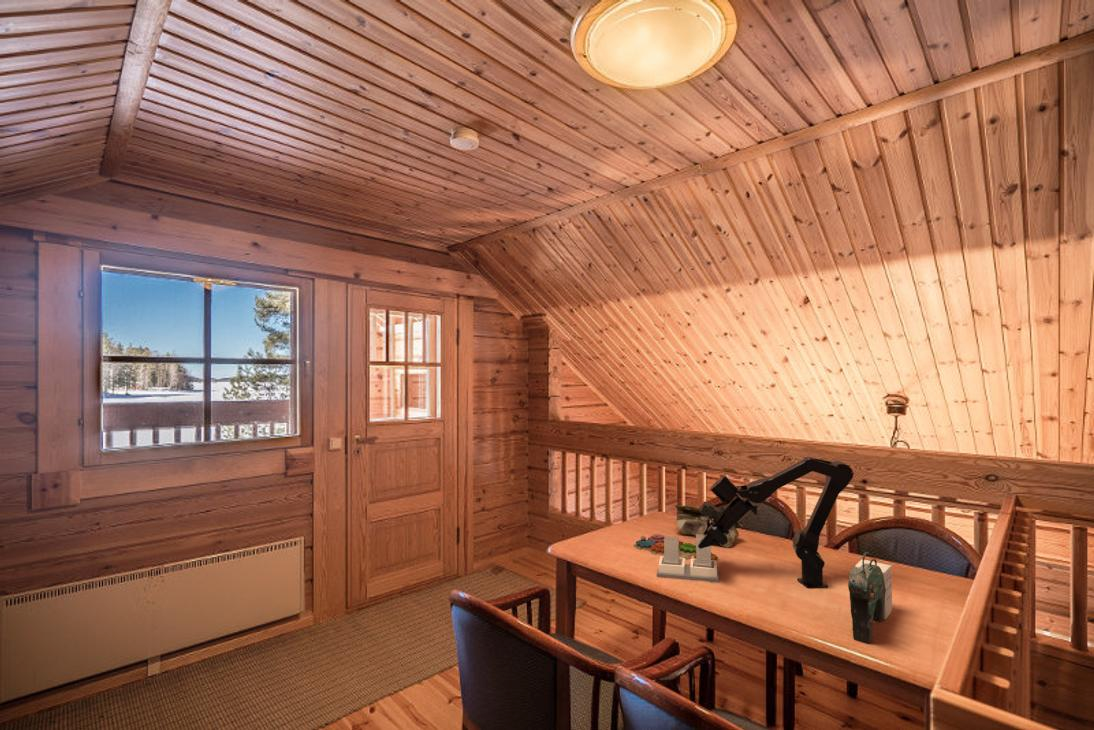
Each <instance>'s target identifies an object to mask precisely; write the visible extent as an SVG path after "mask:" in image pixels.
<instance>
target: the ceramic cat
mask: <svg viewBox="0 0 1094 730" xmlns="http://www.w3.org/2000/svg"><path fill="white" fill-rule="evenodd" d="M869 555H870V554H869V552H868V551H865V552H864V553H863V555H862V557H861V559H862V560H863V561H862V566H861V567H860V568H855V567H852V568H851V569H850V571H849V576H848V584H847V585H848V593H849V601H850V603H849V604H850V615H851V622H852V623H851V624H852V629H851V630H852V637H853V640H855V641H857V642H861V643H865V644H868V645H869V644H871V642H872V640H873V629H874V627H873V626H874V621H877V622H881V621H883V620H884V619H883V618H884V604H885V593H886V588H885V582H884V577H883V573H882V570H881V568H880V567H879V566H877V562H878V561H877V559H876V558H871V559H870V560H869V561H870V563H869V564H867V563H866V564H864V560H866V559H865V558H866V556H867V557H868V556H869ZM872 561H873V562H875V565H871V564H872Z"/></svg>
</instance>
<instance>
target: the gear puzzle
mask: <svg viewBox="0 0 1094 730" xmlns="http://www.w3.org/2000/svg"><path fill="white" fill-rule="evenodd" d="M646 538H647V537H646V536H645V535H641V536H640V539H639V540H636V541H635V544H633V548H636V549H637V550H639V551H641V550H643V551H648V552H650V553H651V554H652V555H660V556H664V538H665V536H664V535H663V534H658V533H656V534H653V535H650V536H649V537H648V538H647V539H646ZM692 556H693V557H694V559H697V558H696V544H694V543H691V542H683V541H681V540H679V558H685V560H687V561H689V560H691V559H692ZM711 560H719V558H718V555H716V553H713V552H711Z"/></svg>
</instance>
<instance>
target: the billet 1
mask: <svg viewBox="0 0 1094 730" xmlns="http://www.w3.org/2000/svg"><path fill="white" fill-rule="evenodd" d="M664 537H665V538H664V555H663V556H664V561H665V564H669V565H680V564H679V541H680V536H672V535H671V536H670V535H665V536H664Z"/></svg>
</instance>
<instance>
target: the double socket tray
mask: <svg viewBox="0 0 1094 730" xmlns="http://www.w3.org/2000/svg"><path fill="white" fill-rule="evenodd" d="M679 564H680V565H669V564H665V561H664V555H660V556H659V562H658V568H657V570H656V571H657V572H656V578H666V579H678V580H687V581H688V580H689V581H697V582H698V581H699V582H710V583H719V582H720V579H719V566H718V565H717V564H718V562H717V559H715V560H711V568H705V567H697V559H696V558H691V559H690V564H689V563H686V559H685V558H679Z"/></svg>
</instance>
